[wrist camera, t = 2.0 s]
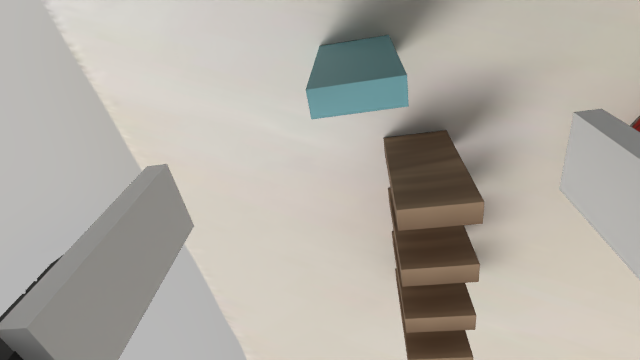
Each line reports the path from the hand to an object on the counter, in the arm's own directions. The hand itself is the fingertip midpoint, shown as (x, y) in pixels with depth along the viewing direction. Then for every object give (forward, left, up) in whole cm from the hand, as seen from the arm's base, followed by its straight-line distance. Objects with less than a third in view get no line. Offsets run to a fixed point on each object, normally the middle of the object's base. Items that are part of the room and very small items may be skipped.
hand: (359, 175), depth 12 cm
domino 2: (+8, +4, -17) cm, 20 cm away
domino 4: (+18, +4, -17) cm, 25 cm away
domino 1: (0, 0, -17) cm, 17 cm away
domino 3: (+13, +4, -17) cm, 22 cm away
